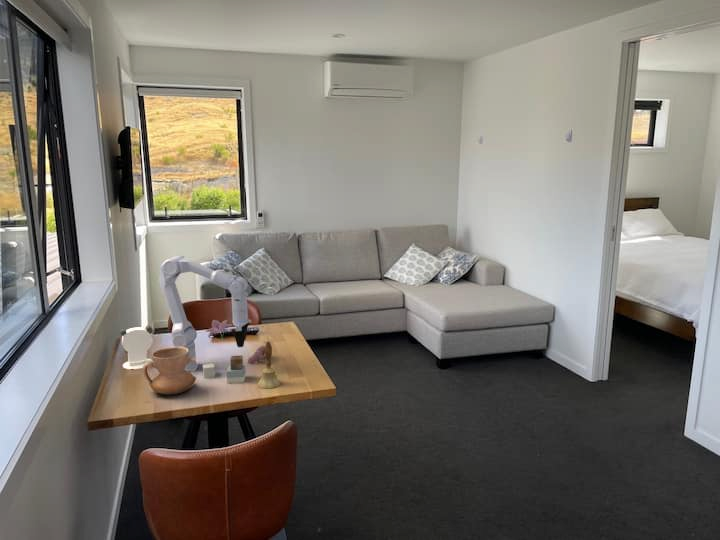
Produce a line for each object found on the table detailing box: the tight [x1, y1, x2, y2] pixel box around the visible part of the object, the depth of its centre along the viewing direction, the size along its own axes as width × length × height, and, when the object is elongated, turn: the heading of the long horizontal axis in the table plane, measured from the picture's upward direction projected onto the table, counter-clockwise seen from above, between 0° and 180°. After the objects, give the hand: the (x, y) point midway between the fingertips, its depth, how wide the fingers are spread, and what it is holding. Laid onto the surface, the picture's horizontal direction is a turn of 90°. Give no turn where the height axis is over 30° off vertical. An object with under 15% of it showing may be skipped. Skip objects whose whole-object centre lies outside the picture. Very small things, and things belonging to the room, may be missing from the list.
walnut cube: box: [229, 355, 244, 370], centre depth 198 cm, size 4×4×4 cm
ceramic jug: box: [142, 346, 197, 396], centre depth 189 cm, size 18×14×14 cm
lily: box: [204, 319, 233, 340], centre depth 246 cm, size 12×12×10 cm
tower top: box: [225, 364, 246, 379], centre depth 198 cm, size 6×6×2 cm
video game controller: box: [247, 345, 266, 364], centre depth 218 cm, size 10×5×7 cm, turn 169°
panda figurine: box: [120, 325, 154, 370], centre depth 214 cm, size 12×11×15 cm
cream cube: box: [202, 363, 216, 379], centre depth 203 cm, size 4×4×4 cm
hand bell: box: [257, 341, 282, 389], centre depth 193 cm, size 8×8×16 cm
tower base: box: [226, 371, 247, 384], centre depth 199 cm, size 6×6×2 cm
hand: (241, 343), depth 207 cm, fingers open, 7 cm apart
